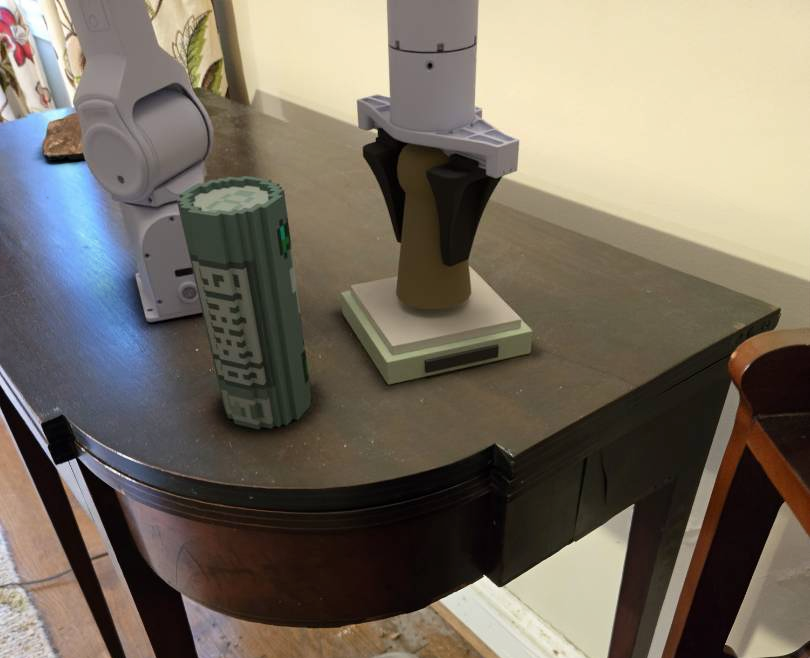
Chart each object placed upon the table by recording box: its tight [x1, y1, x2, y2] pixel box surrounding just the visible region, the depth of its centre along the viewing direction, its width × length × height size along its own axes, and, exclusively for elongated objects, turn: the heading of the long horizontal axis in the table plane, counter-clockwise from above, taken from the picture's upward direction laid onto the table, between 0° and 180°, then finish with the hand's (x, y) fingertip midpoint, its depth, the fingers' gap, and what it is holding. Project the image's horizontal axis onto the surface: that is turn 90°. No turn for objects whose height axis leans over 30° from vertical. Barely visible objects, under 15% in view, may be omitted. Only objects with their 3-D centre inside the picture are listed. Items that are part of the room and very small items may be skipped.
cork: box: [396, 143, 471, 309], centre depth 57 cm, size 6×6×11 cm
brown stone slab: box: [41, 111, 85, 161], centre depth 99 cm, size 12×13×4 cm
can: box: [177, 175, 312, 430], centre depth 52 cm, size 6×6×15 cm
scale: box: [340, 265, 534, 386], centre depth 63 cm, size 12×12×3 cm
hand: (432, 250), depth 59 cm, fingers closed on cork, 5 cm apart
